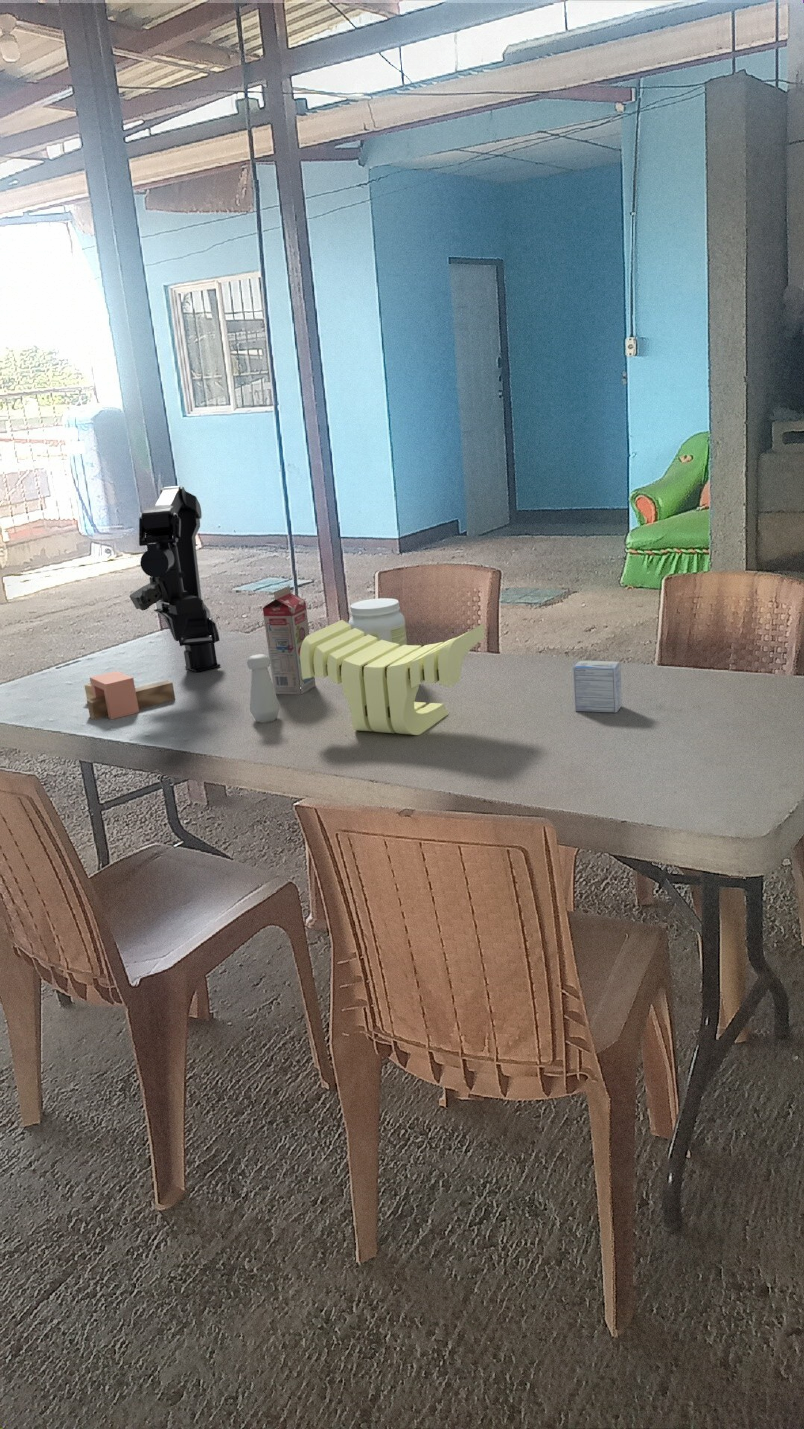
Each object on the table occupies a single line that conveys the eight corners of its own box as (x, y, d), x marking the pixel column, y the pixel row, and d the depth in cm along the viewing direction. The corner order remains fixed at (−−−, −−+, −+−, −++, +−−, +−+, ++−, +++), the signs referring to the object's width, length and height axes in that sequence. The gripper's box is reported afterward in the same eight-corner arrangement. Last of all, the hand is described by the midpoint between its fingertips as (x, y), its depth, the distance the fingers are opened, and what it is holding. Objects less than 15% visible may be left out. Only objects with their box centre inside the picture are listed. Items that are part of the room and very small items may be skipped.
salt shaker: (285, 715, 214) (277, 651, 210) (273, 724, 208) (264, 659, 205) (259, 714, 216) (250, 651, 212) (246, 723, 210) (237, 659, 207)
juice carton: (273, 693, 229) (260, 592, 223) (288, 684, 235) (275, 585, 229) (301, 694, 227) (288, 591, 220) (315, 685, 233) (303, 585, 226)
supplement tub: (398, 669, 239) (391, 594, 234) (418, 681, 228) (411, 603, 223) (346, 678, 236) (338, 603, 231) (364, 691, 225) (356, 612, 220)
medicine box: (622, 706, 199) (621, 661, 197) (616, 713, 196) (615, 667, 193) (581, 704, 203) (579, 660, 200) (574, 711, 199) (572, 666, 196)
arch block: (122, 704, 232) (116, 670, 230) (139, 712, 225) (133, 677, 223) (95, 711, 229) (89, 677, 227) (111, 719, 222) (105, 684, 220)
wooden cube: (102, 697, 240) (98, 680, 239) (113, 699, 238) (110, 681, 236) (87, 702, 237) (84, 685, 236) (99, 704, 235) (96, 686, 233)
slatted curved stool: (309, 732, 202) (297, 640, 196) (351, 706, 215) (341, 619, 210) (454, 744, 188) (446, 645, 182) (490, 716, 201) (483, 623, 196)
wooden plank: (169, 697, 235) (167, 680, 234) (175, 700, 233) (172, 682, 232) (90, 718, 226) (86, 699, 224) (95, 721, 223) (91, 702, 222)
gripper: (113, 572, 231) (125, 642, 235) (149, 579, 216) (161, 655, 221) (161, 563, 237) (172, 632, 241) (199, 570, 222) (210, 643, 227)
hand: (177, 640), depth 232 cm, fingers closed
